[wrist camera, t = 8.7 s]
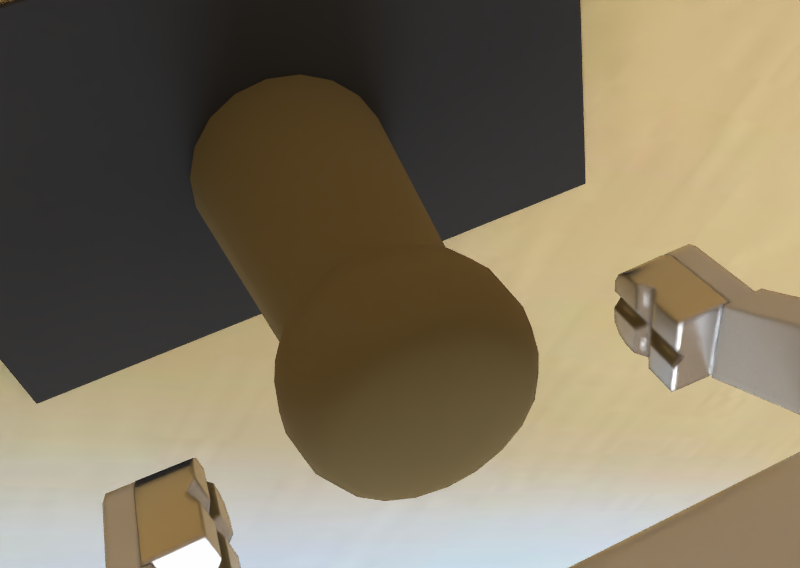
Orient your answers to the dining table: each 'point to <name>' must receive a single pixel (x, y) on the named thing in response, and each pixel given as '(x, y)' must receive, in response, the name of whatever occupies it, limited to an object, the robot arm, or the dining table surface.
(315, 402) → the cork
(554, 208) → the dining table surface
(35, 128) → the mat
